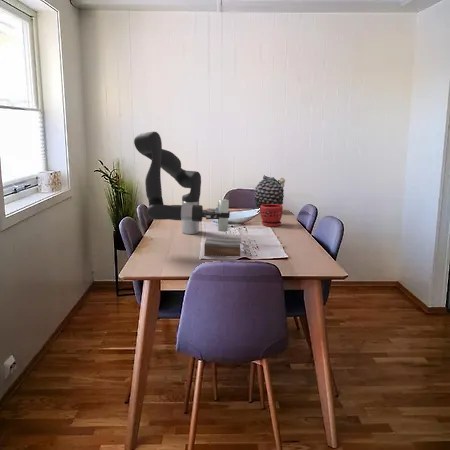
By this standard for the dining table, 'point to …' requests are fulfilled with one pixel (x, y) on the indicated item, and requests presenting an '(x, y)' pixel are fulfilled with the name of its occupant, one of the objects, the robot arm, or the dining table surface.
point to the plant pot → (271, 214)
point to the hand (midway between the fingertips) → (229, 214)
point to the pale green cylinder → (223, 221)
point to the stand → (222, 247)
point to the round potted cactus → (269, 192)
